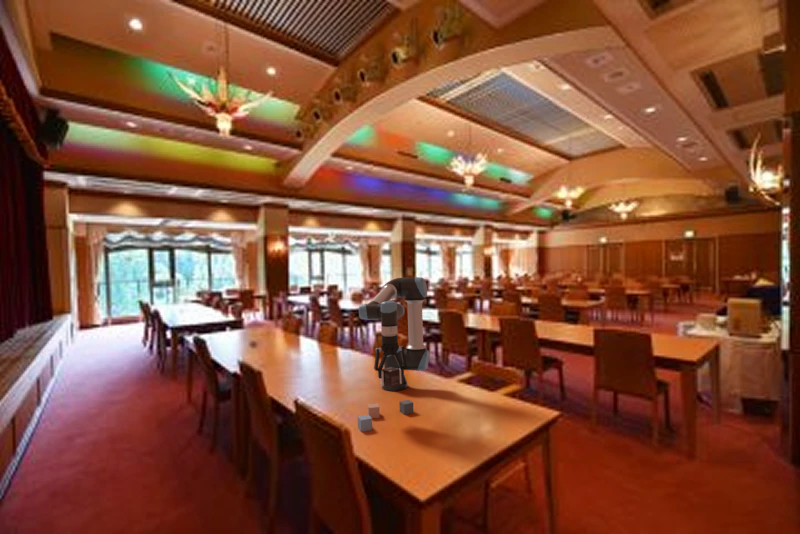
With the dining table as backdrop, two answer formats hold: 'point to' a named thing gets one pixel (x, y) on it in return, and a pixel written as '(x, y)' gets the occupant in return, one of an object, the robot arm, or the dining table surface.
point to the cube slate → (364, 423)
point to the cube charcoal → (406, 407)
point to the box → (391, 376)
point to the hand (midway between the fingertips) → (391, 384)
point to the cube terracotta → (373, 410)
